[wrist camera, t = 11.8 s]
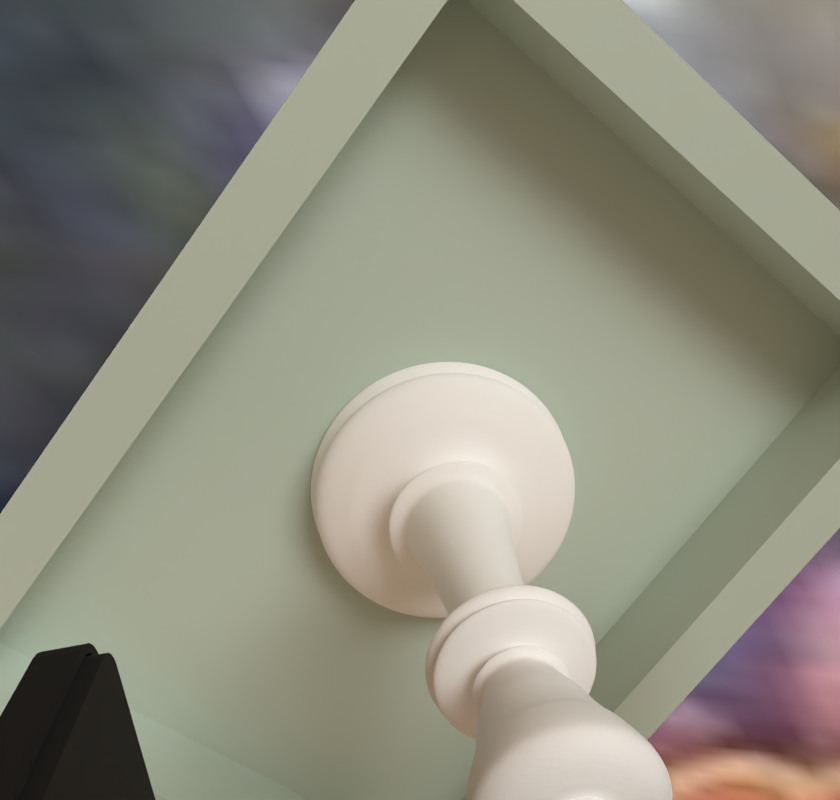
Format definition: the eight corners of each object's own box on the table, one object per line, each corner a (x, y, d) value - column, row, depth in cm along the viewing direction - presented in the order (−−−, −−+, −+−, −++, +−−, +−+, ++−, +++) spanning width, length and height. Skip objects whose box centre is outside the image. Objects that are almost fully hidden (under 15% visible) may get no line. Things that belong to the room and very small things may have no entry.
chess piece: (604, 398, 15) (1106, 807, 5) (521, 624, 16) (816, 1284, 7) (351, 329, 14) (425, 684, 5) (281, 575, 15) (226, 1267, 6)
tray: (893, 329, 16) (993, 358, 14) (419, 870, 19) (434, 974, 16) (434, -98, 13) (462, -156, 11) (-69, 628, 15) (-138, 713, 13)
